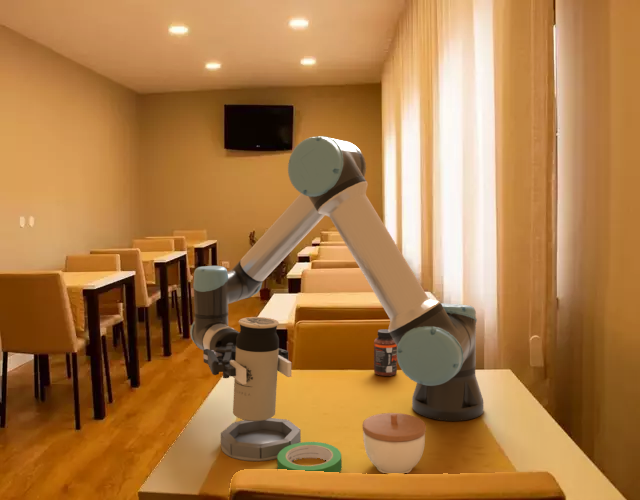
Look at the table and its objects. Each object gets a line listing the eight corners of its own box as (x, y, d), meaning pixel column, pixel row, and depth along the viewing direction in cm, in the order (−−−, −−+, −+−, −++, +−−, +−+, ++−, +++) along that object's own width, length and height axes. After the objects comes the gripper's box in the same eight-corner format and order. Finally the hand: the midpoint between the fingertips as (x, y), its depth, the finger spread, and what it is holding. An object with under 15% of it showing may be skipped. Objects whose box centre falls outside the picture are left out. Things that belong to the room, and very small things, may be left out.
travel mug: (259, 404, 121) (264, 315, 120) (283, 417, 115) (288, 323, 114) (224, 411, 116) (229, 318, 115) (247, 425, 110) (252, 327, 109)
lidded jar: (417, 486, 98) (417, 430, 97) (354, 476, 102) (354, 421, 101) (431, 459, 108) (431, 407, 107) (373, 450, 112) (372, 400, 111)
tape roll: (322, 490, 98) (321, 474, 98) (265, 476, 103) (264, 460, 103) (352, 463, 108) (352, 448, 108) (298, 451, 113) (298, 437, 113)
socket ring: (311, 432, 121) (310, 421, 120) (284, 465, 106) (283, 452, 106) (241, 425, 125) (241, 413, 125) (206, 455, 111) (206, 442, 111)
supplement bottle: (396, 377, 156) (396, 333, 155) (372, 376, 157) (372, 333, 156) (397, 370, 161) (397, 328, 160) (375, 369, 163) (375, 327, 162)
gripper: (271, 355, 136) (318, 384, 116) (177, 369, 126) (211, 403, 106) (270, 322, 135) (318, 345, 115) (176, 333, 125) (210, 360, 105)
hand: (267, 373), depth 110 cm, fingers closed on travel mug, 8 cm apart
